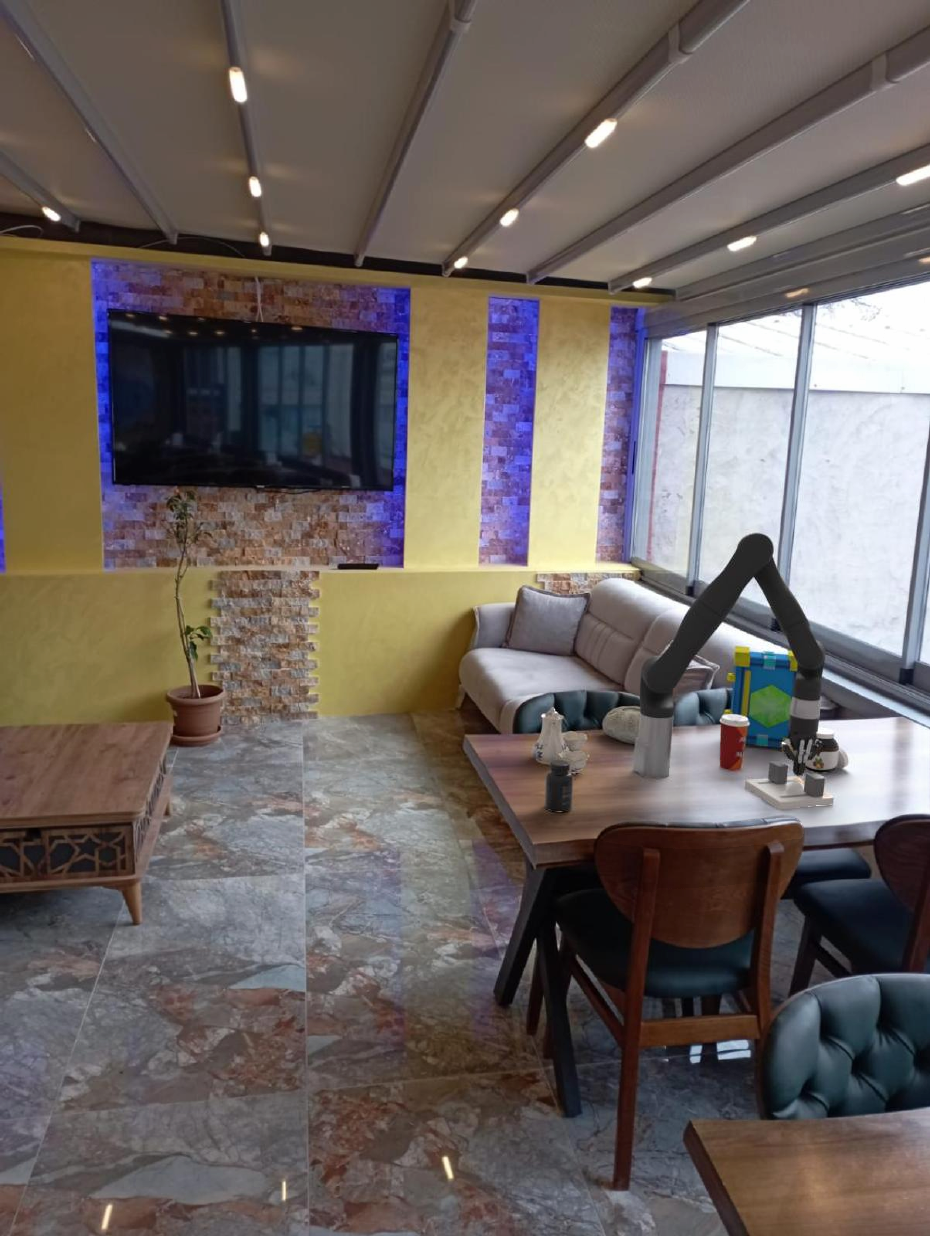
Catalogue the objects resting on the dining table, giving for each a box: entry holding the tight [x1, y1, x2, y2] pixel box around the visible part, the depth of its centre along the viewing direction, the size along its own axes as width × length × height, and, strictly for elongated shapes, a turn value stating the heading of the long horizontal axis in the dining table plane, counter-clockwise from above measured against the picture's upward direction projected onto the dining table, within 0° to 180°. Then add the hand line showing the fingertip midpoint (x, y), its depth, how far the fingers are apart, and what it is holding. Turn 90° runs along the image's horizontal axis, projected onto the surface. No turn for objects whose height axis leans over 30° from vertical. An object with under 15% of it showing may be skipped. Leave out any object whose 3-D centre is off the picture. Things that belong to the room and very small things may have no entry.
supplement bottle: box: [544, 760, 574, 812], centre depth 222 cm, size 7×7×12 cm
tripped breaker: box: [767, 760, 789, 784], centre depth 240 cm, size 3×4×5 cm
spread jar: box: [805, 726, 849, 774], centre depth 258 cm, size 12×11×12 cm
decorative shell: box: [601, 705, 640, 745], centre depth 279 cm, size 18×18×10 cm
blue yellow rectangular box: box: [723, 645, 797, 753], centre depth 277 cm, size 14×23×30 cm, turn 75°
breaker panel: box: [744, 775, 835, 811], centre depth 236 cm, size 16×16×2 cm
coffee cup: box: [719, 714, 749, 772], centre depth 256 cm, size 8×8×15 cm
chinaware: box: [531, 706, 591, 773], centre depth 257 cm, size 28×17×17 cm, turn 179°
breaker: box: [804, 772, 826, 797], centre depth 232 cm, size 3×4×5 cm
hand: (798, 774), depth 242 cm, fingers closed
